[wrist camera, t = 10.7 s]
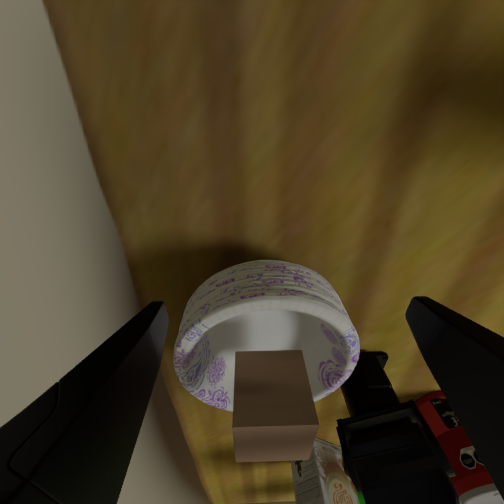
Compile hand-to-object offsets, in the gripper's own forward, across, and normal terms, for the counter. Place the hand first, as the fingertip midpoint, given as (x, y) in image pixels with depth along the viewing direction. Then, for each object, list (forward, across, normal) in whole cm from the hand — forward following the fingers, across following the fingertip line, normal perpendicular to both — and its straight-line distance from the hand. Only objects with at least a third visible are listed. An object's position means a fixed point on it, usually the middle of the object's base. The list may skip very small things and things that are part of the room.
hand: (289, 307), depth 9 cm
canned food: (+13, -28, +34) cm, 46 cm away
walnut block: (+5, 0, +12) cm, 13 cm away
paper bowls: (+13, 0, +12) cm, 18 cm away
